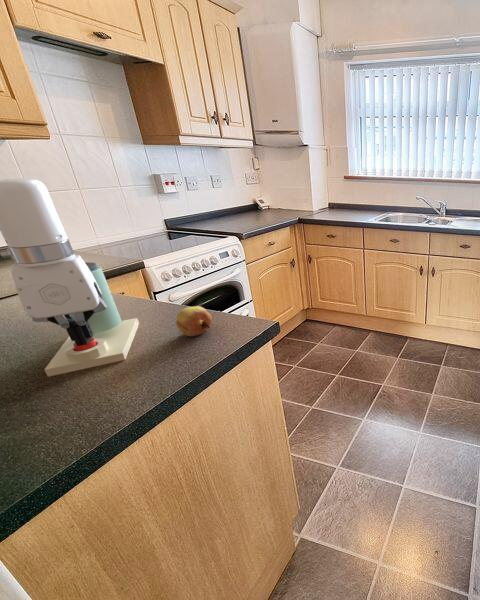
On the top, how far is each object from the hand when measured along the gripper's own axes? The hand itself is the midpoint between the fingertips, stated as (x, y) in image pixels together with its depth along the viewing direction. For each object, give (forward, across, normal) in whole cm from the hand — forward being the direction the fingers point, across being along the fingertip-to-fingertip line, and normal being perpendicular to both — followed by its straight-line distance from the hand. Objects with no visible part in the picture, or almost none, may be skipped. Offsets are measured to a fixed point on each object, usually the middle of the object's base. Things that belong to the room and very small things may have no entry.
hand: (84, 341), depth 67 cm
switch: (+2, 0, 0) cm, 2 cm away
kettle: (+1, 0, +10) cm, 10 cm away
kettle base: (+4, 0, +6) cm, 8 cm away
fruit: (+5, +19, +3) cm, 20 cm away
